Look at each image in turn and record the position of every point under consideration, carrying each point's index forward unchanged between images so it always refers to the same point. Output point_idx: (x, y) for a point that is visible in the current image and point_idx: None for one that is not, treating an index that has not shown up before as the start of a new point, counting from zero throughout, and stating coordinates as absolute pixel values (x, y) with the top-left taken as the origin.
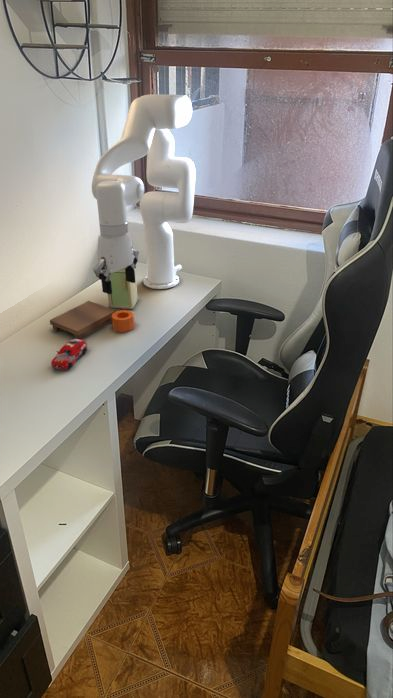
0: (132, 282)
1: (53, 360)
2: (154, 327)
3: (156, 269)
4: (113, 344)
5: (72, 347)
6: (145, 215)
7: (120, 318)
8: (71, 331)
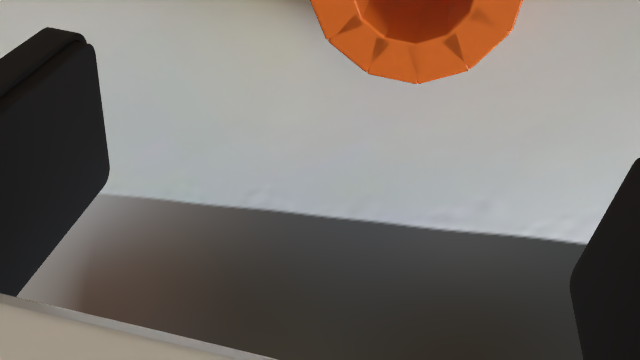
0: (578, 266)
1: None
2: (495, 156)
3: None
4: (172, 18)
5: None
6: None
7: (341, 2)
8: None
